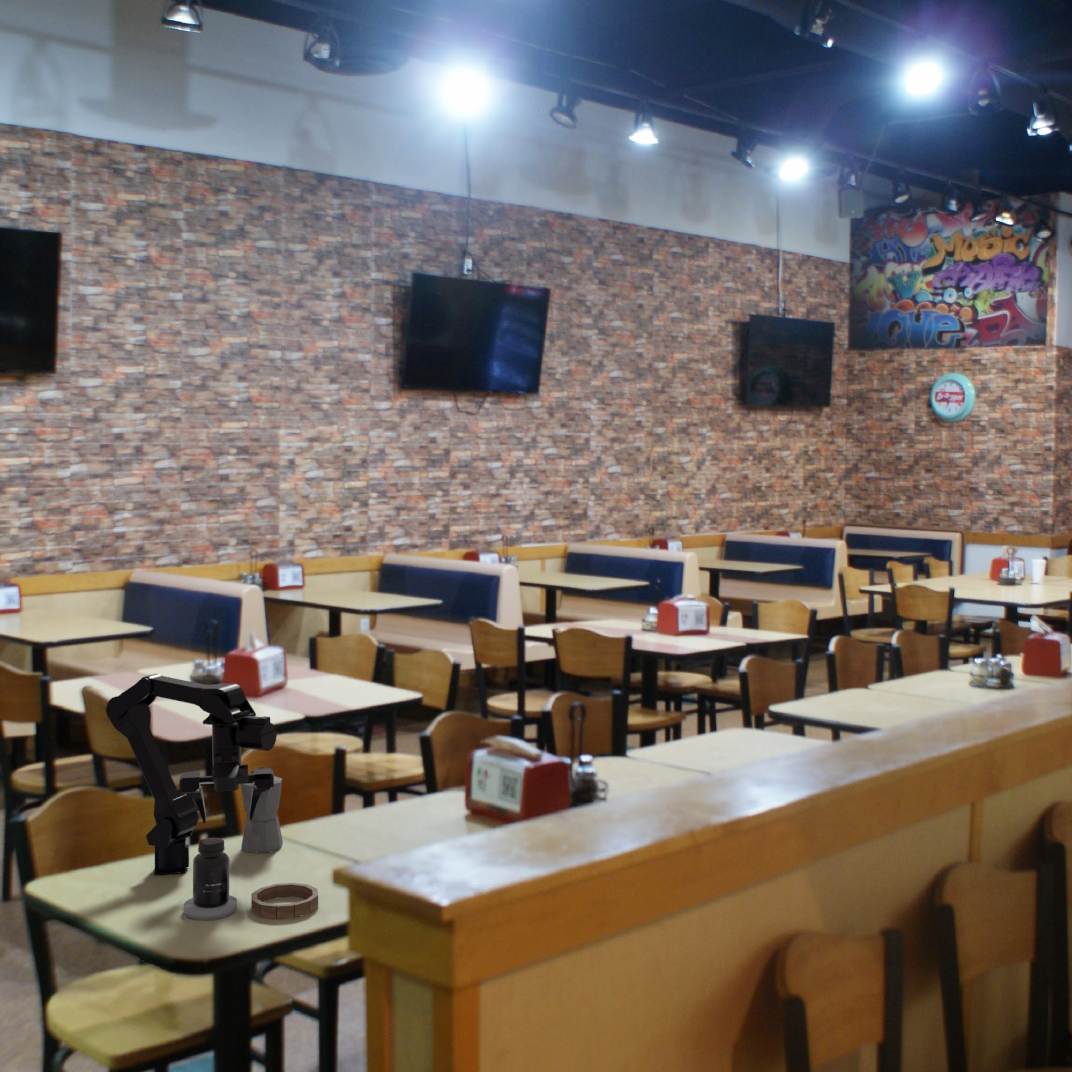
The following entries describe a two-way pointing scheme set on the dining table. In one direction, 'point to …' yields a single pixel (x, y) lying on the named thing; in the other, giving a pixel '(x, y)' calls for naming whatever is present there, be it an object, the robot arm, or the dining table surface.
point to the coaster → (209, 910)
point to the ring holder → (284, 909)
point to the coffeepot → (262, 819)
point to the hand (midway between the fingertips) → (227, 821)
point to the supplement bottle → (211, 874)
